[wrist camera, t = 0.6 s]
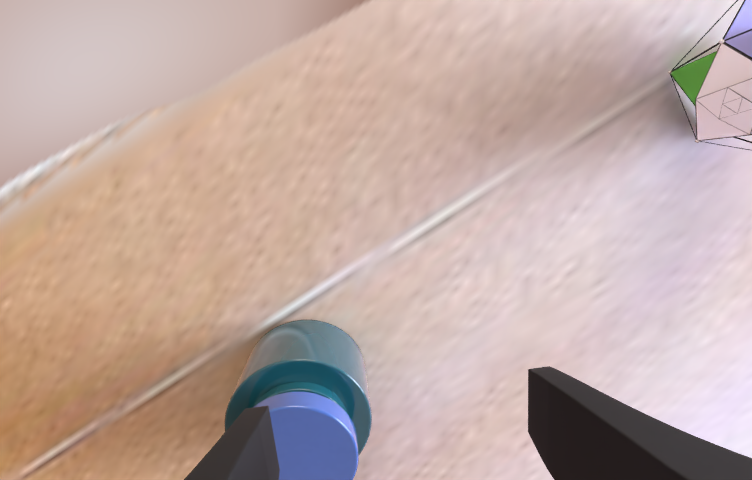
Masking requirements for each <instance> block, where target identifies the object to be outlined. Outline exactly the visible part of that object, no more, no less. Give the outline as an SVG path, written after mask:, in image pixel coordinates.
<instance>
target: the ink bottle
mask: <svg viewBox="0 0 752 480" xmlns="http://www.w3.org/2000/svg"><path fill="white" fill-rule="evenodd" d="M261 406H269V412H270V417H271V423H272V429H273V434H274V440H275V445H276V451H277V457H278V462H279V468H280V472H279V480H353V478H354V476H355V473H356V470H357V466H358V456H359V454H360V453H361V452H362V450H363V448H364V446H365V444H366V442H367V440H368V437H369V434H370V430H371V421H372V417H371V407H370V399H369V392H368V384H367V376H366V368H365V362H364V358H363V355H362V353H361V351H360V349H359V347H358V345H357V344H356V343H355V341H354V340H353V339H352V338H351V337H350V336H349V335H348V334H347V333H345V332H344V331H342V330H341V329H339V328H337V327H336V326H333V325H331V324H328V323H325V322H321V321H315V320H299V321H293V322H289V323H286V324H283V325H280V326H278V327H276V328H274V329H272V330H271V331H270V332H268V333H267V334H265V335H264V336H263V337H262V338H261V339H260V340H259V341H258V342H257V344H256V345H255V346H254V348H253V350H252V351H251V353H250V356H249V358H248V360H247V362H246V365H245V367H244V369H243V372H242V374H241V376H240V378H239V381H238V383H237V385H236V388H235V390H234V392H233V394H232V397H231V399H230V401H229V403H228V406H227V410H226V415H225V432H226V431H227V429H228V428H229V427H230V426H231V425H232V424H233V422H234V421H235V420H236V419H237V418H238V416H239V415H240V414H241V413H242V412H243V411H244V410H245V409H246V408H254V407H261Z"/></svg>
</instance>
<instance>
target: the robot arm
mask: <svg viewBox="0 0 752 480" xmlns="http://www.w3.org/2000/svg"><path fill="white" fill-rule="evenodd" d="M528 432H529V434H530V436H531V438H532V440H533V442H534V444H535V446H536V448H537V450H538V452H539V454H540V456H541V458H542V460H543V462H544V464H545V466H546V467H547V469H548V471H549V472H550V474H551V475H552V477H553V478H554V480H752V458H749V457H747V456H744V455H741V454H738V453H736V452H733V451H731V450H728V449H726V448H723V447H720V446H718V445H715V444H713V443H710V442H708V441H705V440H703V439H700V438H698V437H695V436H693V435H691V434H688V433H686V432H683V431H681V430H679V429H677V428H674V427H672V426H670V425H668V424H666V423H663V422H661V421H659V420H657V419H655V418H652V417H650V416H648V415H646V414H644V413H642V412H640V411H638V410H636V409H634V408H632V407H630V406H628V405H626V404H624V403H622V402H620V401H618V400H616V399H614V398H612V397H610V396H608V395H606V394H604V393H602V392H600V391H598V390H596V389H594V388H592V387H590V386H588V385H586V384H584V383H583V382H581V381H579V380H577V379H575V378H573V377H571V376H569V375H567V374H565V373H563V372H561V371H559V370H556V369H554V368H552V367H550V366H549V367H542V368H534V369H528ZM279 472H280V468H279V462H278V457H277V451H276V445H275V440H274V434H273V429H272V423H271V417H270V412H269V406H261V407H254V408H246V409H245V410H244V411H243V412H242V413H241V414H240V415H239V416H238V418H237V419H236V420H235V421H234V422H233V424H232V425H231V426H230V427H229V428H228V429H227V431H226V432H225V433H224V434H223V435H222V437H221V438H220V439H219V440H218V441H217V443H216V444H215V445H214V446H213V447H212V449H211V450H210V451H209V452H208V453H207V454H206V455H205V457H204V458H203V459H202V460H201V461H200V462H199V463H198V465H197V466H196V467H195V468H194V469H193V470H192V472H191V473H190V474H189V475H188V476H187V477H186V478H185V479H184V480H279Z"/></svg>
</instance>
